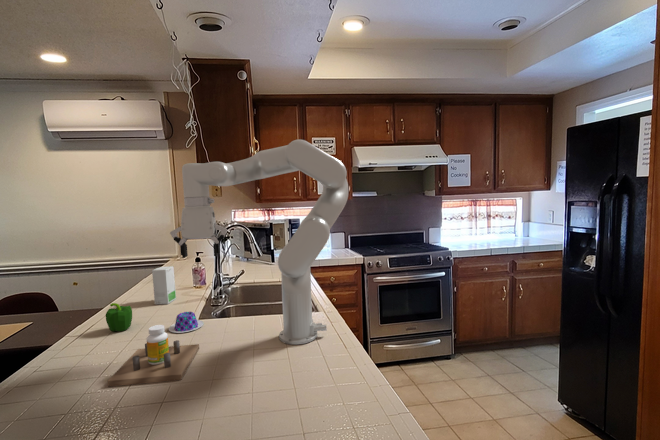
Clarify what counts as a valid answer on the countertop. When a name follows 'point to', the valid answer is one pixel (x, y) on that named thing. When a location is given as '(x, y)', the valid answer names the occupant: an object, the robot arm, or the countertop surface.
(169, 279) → the skincare box
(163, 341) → the supplement bottle
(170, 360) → the peg cradle
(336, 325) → the countertop surface
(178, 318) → the pudding
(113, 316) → the bell pepper
